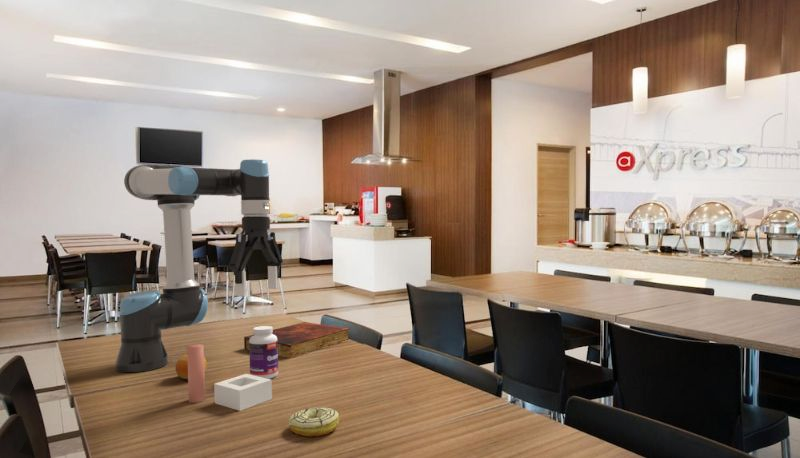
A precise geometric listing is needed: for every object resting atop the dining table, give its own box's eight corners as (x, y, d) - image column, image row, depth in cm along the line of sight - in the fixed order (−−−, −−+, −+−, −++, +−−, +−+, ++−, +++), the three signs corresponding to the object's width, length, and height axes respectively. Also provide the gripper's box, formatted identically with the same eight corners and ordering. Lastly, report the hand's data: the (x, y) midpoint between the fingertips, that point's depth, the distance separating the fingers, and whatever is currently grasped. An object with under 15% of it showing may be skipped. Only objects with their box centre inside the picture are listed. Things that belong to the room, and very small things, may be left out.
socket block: (214, 403, 137) (214, 383, 137) (246, 392, 146) (246, 373, 145) (240, 410, 132) (239, 390, 132) (272, 398, 140) (271, 379, 140)
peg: (185, 401, 140) (183, 346, 139) (199, 396, 143) (197, 343, 143) (194, 403, 137) (193, 348, 137) (208, 399, 141) (206, 345, 140)
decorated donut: (304, 418, 127) (304, 402, 127) (346, 423, 123) (346, 406, 123) (280, 436, 117) (280, 418, 117) (326, 441, 113) (325, 423, 113)
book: (304, 334, 217) (304, 322, 217) (350, 341, 203) (350, 328, 203) (244, 350, 193) (243, 336, 193) (291, 360, 179) (290, 345, 179)
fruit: (217, 363, 162) (200, 342, 161) (197, 381, 155) (179, 359, 154) (202, 372, 166) (186, 352, 165) (182, 390, 159) (165, 369, 158)
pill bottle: (271, 381, 155) (269, 331, 154) (245, 380, 156) (243, 330, 156) (282, 373, 163) (281, 325, 162) (258, 372, 164) (256, 324, 164)
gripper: (235, 216, 138) (237, 299, 139) (293, 215, 161) (295, 286, 161) (212, 216, 141) (215, 298, 142) (272, 215, 164) (274, 285, 164)
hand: (257, 292), depth 151 cm, fingers open, 13 cm apart
